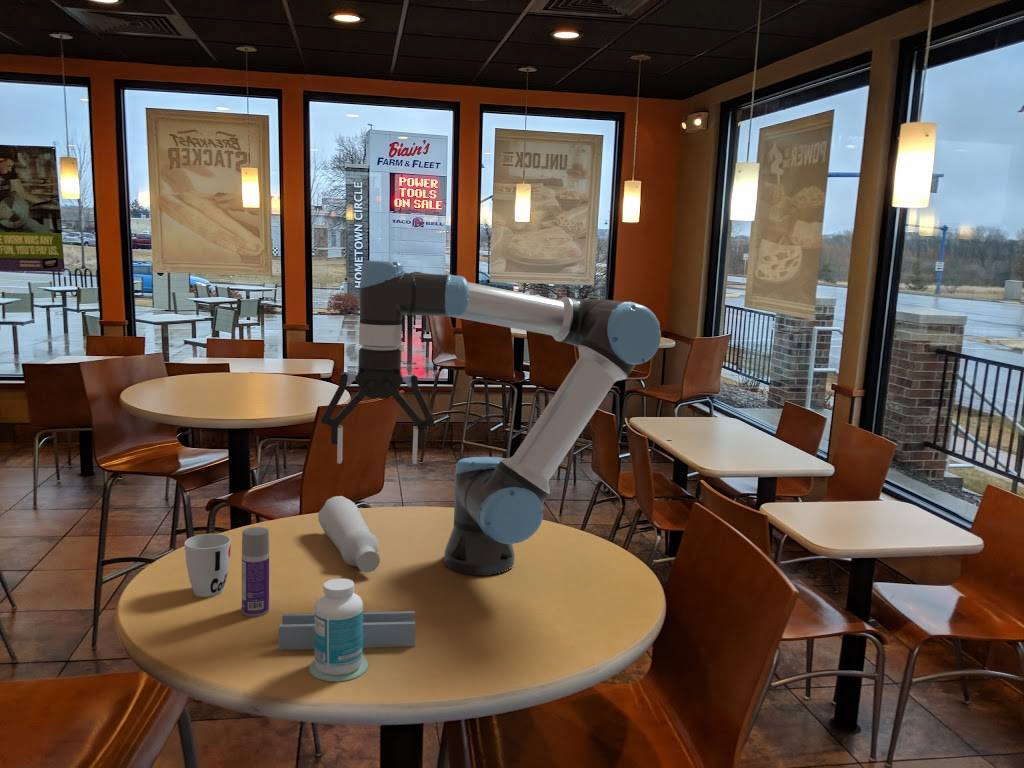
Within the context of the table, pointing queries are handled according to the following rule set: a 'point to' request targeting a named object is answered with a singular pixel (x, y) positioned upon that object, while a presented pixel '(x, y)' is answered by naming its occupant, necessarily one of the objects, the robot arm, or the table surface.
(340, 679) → the spot
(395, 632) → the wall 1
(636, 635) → the table surface
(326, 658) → the pill bottle
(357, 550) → the bottle
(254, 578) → the container
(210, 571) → the cup
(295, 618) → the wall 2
